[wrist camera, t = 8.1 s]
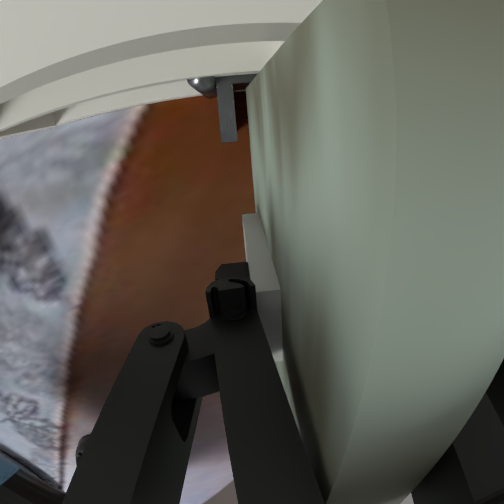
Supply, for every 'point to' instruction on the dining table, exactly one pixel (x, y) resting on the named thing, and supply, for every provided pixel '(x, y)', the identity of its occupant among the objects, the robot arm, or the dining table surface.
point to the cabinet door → (384, 230)
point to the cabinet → (127, 52)
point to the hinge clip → (223, 98)
